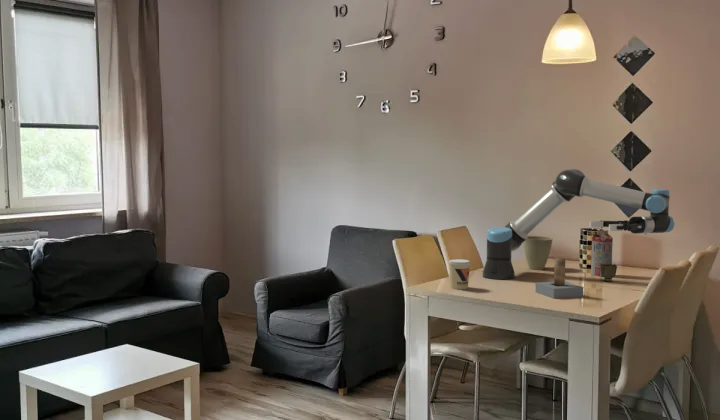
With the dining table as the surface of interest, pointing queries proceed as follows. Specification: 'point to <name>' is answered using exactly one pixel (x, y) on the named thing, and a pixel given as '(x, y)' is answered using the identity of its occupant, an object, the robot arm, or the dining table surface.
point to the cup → (608, 271)
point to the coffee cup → (459, 273)
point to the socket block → (559, 290)
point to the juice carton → (601, 251)
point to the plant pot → (537, 251)
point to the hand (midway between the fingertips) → (599, 226)
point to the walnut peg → (559, 272)
